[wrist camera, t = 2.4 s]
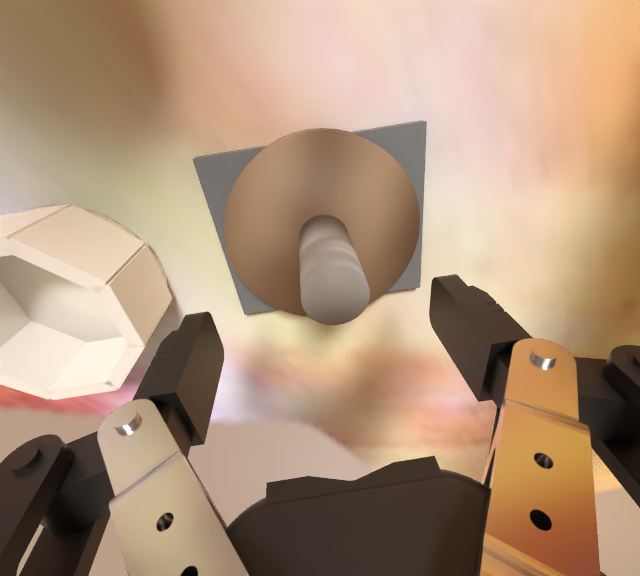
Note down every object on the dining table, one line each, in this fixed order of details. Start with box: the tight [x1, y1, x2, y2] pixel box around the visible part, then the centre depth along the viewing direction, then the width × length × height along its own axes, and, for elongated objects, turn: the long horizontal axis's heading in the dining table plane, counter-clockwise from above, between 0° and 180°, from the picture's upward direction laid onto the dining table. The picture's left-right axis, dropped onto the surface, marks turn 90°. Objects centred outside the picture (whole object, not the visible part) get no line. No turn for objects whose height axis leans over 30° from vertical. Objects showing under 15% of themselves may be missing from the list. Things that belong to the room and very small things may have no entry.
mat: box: [193, 121, 427, 314], centre depth 19 cm, size 12×10×1 cm
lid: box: [223, 128, 420, 325], centre depth 16 cm, size 11×11×7 cm
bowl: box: [0, 204, 172, 400], centre depth 18 cm, size 10×10×5 cm
